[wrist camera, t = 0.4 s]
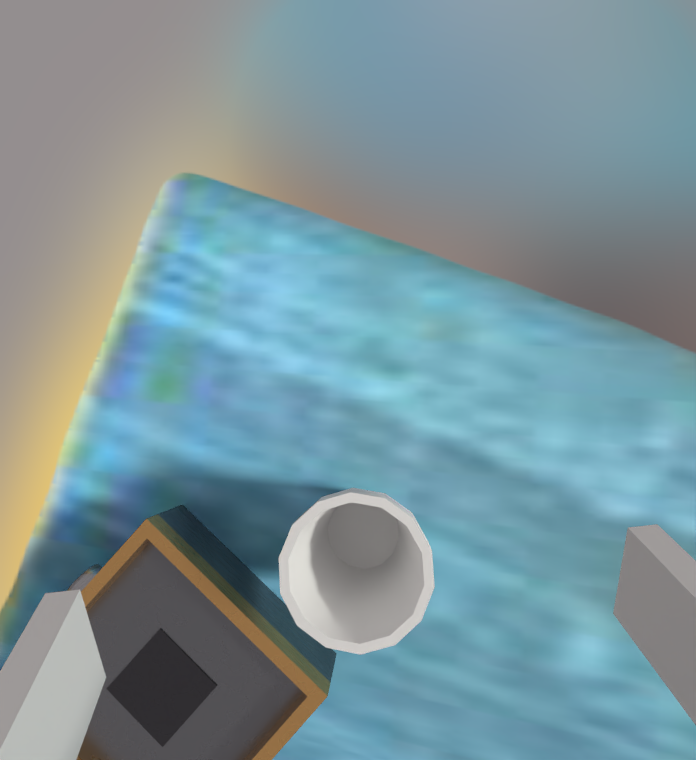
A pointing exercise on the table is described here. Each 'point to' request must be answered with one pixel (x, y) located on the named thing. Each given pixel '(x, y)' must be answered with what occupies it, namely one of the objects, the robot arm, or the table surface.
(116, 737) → the wooden drawer tray
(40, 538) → the table surface
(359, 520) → the foam cup
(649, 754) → the table surface
